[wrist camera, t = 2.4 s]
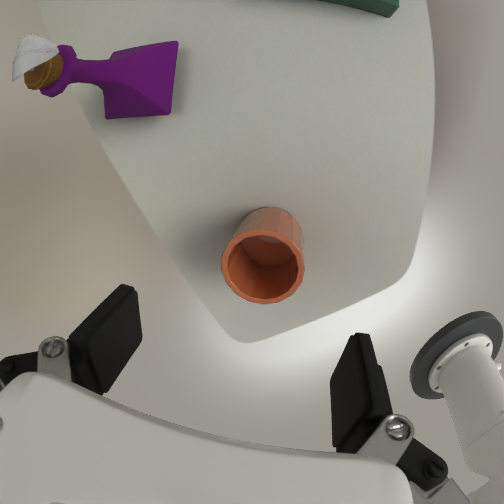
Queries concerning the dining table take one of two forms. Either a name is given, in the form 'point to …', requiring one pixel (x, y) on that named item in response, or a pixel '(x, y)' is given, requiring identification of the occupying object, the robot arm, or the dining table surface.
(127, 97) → the perfume bottle
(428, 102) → the dining table surface
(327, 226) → the dining table surface
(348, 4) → the push button base
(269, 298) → the cup
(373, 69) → the dining table surface
